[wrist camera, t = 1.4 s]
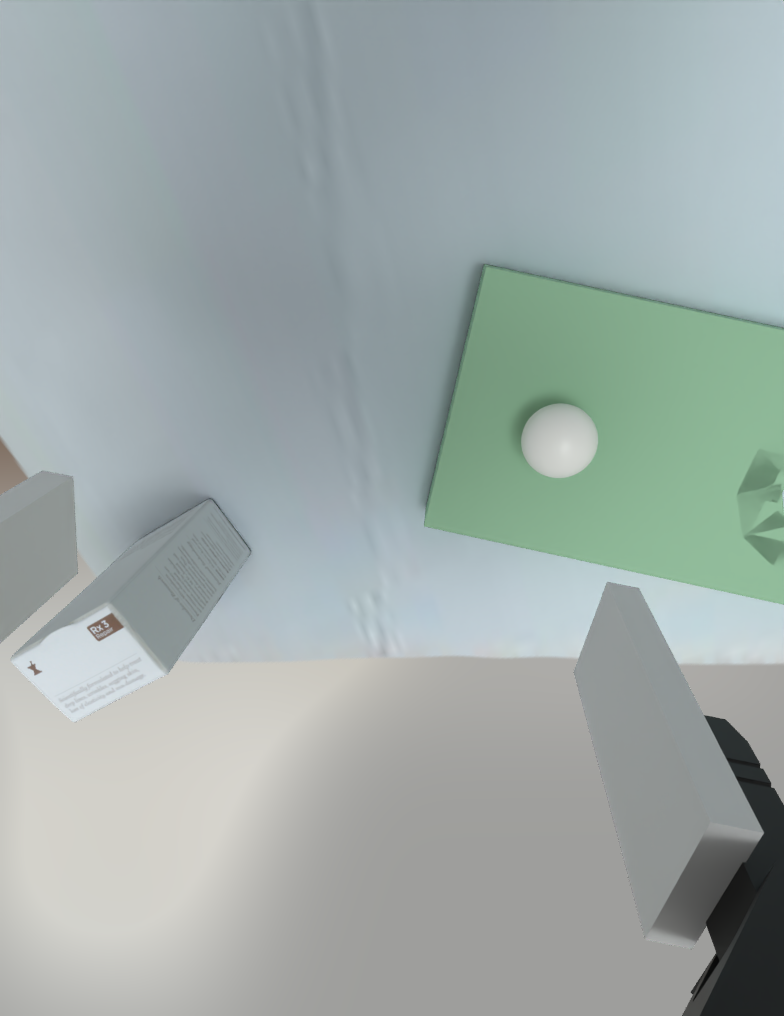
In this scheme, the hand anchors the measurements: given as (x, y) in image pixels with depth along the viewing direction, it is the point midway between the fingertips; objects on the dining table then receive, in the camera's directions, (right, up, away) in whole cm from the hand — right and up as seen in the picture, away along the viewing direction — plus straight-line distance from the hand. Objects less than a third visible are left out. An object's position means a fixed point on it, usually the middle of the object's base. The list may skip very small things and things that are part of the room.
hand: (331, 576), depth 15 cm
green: (+17, +5, +17) cm, 25 cm away
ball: (+9, +5, +13) cm, 17 cm away
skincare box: (-10, 0, +22) cm, 25 cm away
